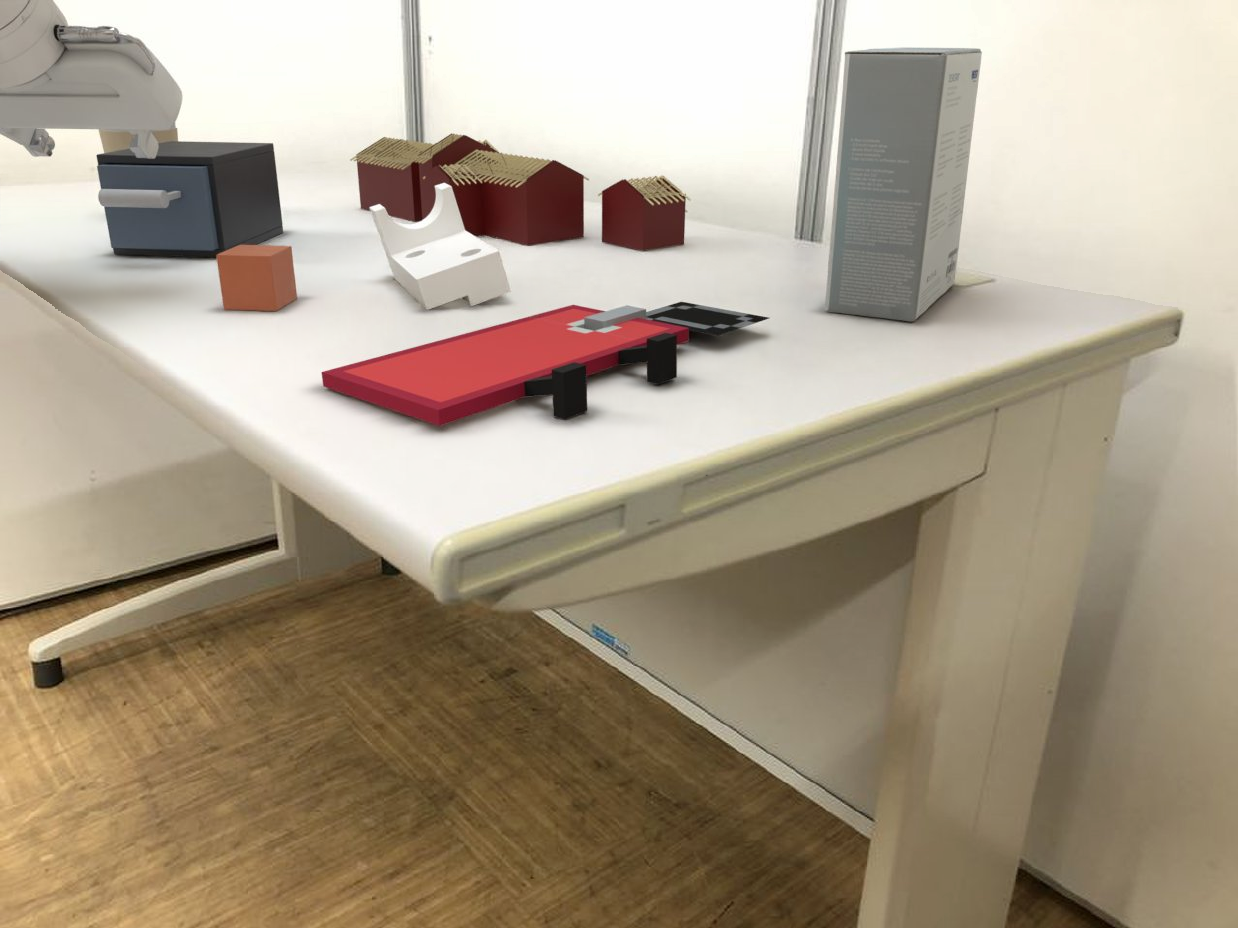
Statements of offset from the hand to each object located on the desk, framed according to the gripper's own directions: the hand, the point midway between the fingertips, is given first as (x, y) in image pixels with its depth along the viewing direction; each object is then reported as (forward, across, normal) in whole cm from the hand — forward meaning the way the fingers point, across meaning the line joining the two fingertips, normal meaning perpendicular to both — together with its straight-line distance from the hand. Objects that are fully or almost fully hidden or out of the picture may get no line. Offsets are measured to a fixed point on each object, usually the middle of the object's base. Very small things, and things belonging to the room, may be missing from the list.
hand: (97, 151), depth 89 cm
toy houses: (+31, -30, -15) cm, 46 cm away
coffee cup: (+32, +15, -16) cm, 39 cm away
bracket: (+7, -30, +9) cm, 32 cm away
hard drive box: (+8, -69, +8) cm, 70 cm away
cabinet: (+20, 0, -4) cm, 20 cm away
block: (+2, -17, +14) cm, 22 cm away
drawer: (+16, 0, -2) cm, 16 cm away
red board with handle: (-7, -45, +23) cm, 51 cm away
